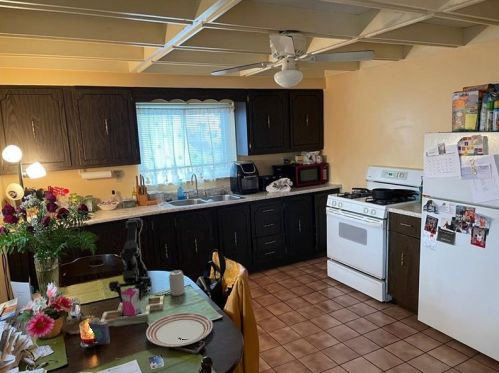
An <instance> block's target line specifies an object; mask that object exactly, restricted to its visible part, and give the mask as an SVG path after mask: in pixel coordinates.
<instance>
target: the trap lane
mask: <svg viewBox="0 0 499 373" xmlns="http://www.w3.org/2000/svg"><path fill="white" fill-rule="evenodd" d="M147 299H148V300H147V301H148V304H146V307H145V308H146V309H145V313H139V314H138V315H136V316H130V317H129V316H125V315H123V316H122V314H123V304H122V303H121V302H120V301H119V305H118V308H117V310H110V311H104V312H103V314H102V317H101V318H100V321H101V322H108V327H121V326H127V325H134V324H141V323H149V322H148V321H149V320H150V316H151V311H150V310H152V311H157V309H159V310H164V302H165V300H164V299H165V298H164V295H157V296H148V298H147Z"/></svg>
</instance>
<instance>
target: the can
mask: <svg viewBox="0 0 499 373" xmlns="http://www.w3.org/2000/svg"><path fill="white" fill-rule="evenodd" d="M184 277H185V276H184V273H183V271H182V270H180V269H179V270H172V271H170V272H169V275H168V282H169V291H170V295H172V296H173V297H179V296H182V295H183V294H185V292H186V288H185V278H184Z"/></svg>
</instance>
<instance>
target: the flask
mask: <svg viewBox="0 0 499 373" xmlns="http://www.w3.org/2000/svg"><path fill="white" fill-rule="evenodd" d="M88 324H89V326H90V328H91V329H92V331H93V333H94V335H95V338H96V341H97V342H98V344H97V345H109V344H110V343H111V338H110V330H109V326H108V322H101V318H100V317H97V318H96V317H95V318H94V319H92V320H89V321H88V322H87V325H88ZM89 326H88V327H89Z"/></svg>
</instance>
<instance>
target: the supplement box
mask: <svg viewBox="0 0 499 373" xmlns="http://www.w3.org/2000/svg"><path fill="white" fill-rule="evenodd" d="M139 292H140V291H139V289H134V287H129V288H127V289H125V290H122V292H121V296H122V304H123V311H122V313H123V316H129V317H130V316H136V315H138V314H142V307H141V306H142V305H141V300H140V301H139Z"/></svg>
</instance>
